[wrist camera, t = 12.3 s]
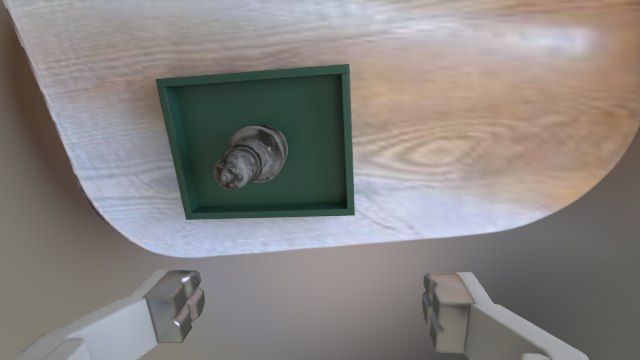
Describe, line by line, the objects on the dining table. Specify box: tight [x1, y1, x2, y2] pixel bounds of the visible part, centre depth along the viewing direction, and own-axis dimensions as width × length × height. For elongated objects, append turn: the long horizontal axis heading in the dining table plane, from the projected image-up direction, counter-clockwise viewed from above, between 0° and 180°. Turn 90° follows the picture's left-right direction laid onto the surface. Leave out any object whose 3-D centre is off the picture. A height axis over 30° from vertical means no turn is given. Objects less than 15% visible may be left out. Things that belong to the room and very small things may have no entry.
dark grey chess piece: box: [214, 125, 288, 191], centre depth 28 cm, size 6×6×12 cm
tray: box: [156, 64, 355, 220], centre depth 33 cm, size 16×20×3 cm
